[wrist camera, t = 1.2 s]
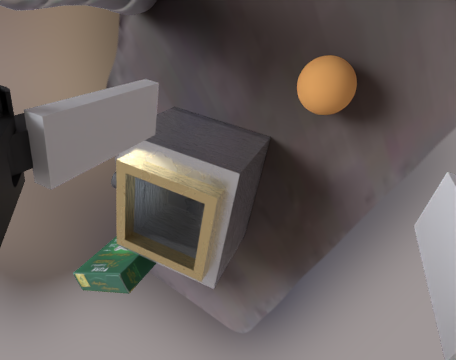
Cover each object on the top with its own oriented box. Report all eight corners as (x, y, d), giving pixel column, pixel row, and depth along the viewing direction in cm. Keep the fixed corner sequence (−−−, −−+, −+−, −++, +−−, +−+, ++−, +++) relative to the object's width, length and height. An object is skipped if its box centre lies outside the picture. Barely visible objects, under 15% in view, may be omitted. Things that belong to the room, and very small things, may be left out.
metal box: (145, 97, 38) (70, 123, 28) (270, 137, 34) (233, 181, 25) (141, 193, 45) (79, 239, 35) (244, 235, 41) (207, 299, 32)
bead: (311, 47, 29) (301, 51, 25) (366, 60, 28) (366, 66, 24) (295, 100, 32) (285, 112, 27) (346, 114, 30) (342, 128, 26)
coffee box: (145, 231, 48) (80, 293, 37) (138, 215, 47) (69, 273, 36) (189, 228, 44) (131, 296, 33) (182, 210, 43) (120, 274, 33)
